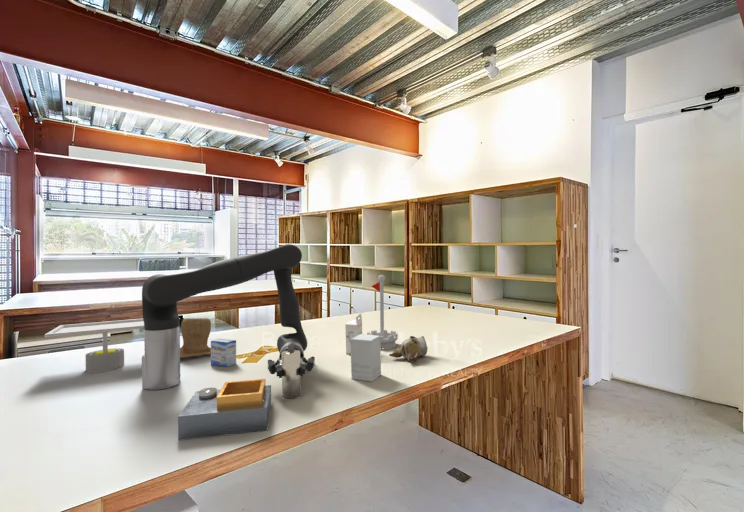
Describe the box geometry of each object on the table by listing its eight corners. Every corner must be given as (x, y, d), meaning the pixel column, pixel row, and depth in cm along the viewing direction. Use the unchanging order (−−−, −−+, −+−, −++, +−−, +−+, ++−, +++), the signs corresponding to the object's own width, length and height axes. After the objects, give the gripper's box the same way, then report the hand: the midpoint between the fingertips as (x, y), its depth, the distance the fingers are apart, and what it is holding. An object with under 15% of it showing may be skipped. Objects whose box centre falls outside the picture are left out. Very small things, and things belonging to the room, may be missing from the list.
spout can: (281, 400, 95) (281, 347, 95) (282, 393, 100) (281, 343, 100) (300, 398, 96) (300, 346, 96) (300, 391, 101) (300, 342, 101)
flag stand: (403, 344, 153) (402, 274, 152) (388, 351, 142) (387, 276, 141) (377, 340, 160) (376, 273, 159) (360, 347, 149) (360, 275, 148)
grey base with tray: (178, 440, 75) (177, 404, 75) (196, 411, 89) (196, 381, 89) (267, 430, 79) (266, 396, 79) (271, 404, 92) (271, 375, 92)
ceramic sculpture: (434, 333, 133) (409, 343, 122) (436, 356, 133) (410, 368, 123) (412, 329, 140) (386, 339, 130) (413, 351, 141) (387, 362, 130)
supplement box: (381, 374, 114) (381, 335, 114) (372, 382, 108) (371, 340, 108) (361, 371, 117) (360, 333, 117) (350, 379, 111) (349, 338, 111)
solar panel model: (45, 382, 110) (44, 334, 110) (61, 367, 126) (60, 324, 125) (150, 368, 124) (149, 325, 124) (153, 355, 139) (152, 317, 139)
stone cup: (211, 349, 147) (211, 313, 147) (215, 356, 137) (214, 317, 136) (169, 355, 139) (168, 317, 139) (170, 363, 129) (169, 322, 129)
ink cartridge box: (351, 348, 147) (350, 312, 147) (362, 348, 146) (362, 312, 146) (345, 354, 138) (344, 316, 138) (357, 354, 137) (357, 316, 137)
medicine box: (210, 365, 127) (209, 340, 126) (220, 361, 131) (219, 337, 131) (227, 367, 124) (227, 342, 124) (236, 363, 128) (236, 339, 128)
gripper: (267, 345, 110) (263, 361, 94) (314, 342, 113) (318, 357, 97) (268, 369, 110) (263, 390, 94) (314, 366, 113) (318, 385, 97)
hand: (291, 373), depth 95 cm, fingers closed on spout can, 5 cm apart
